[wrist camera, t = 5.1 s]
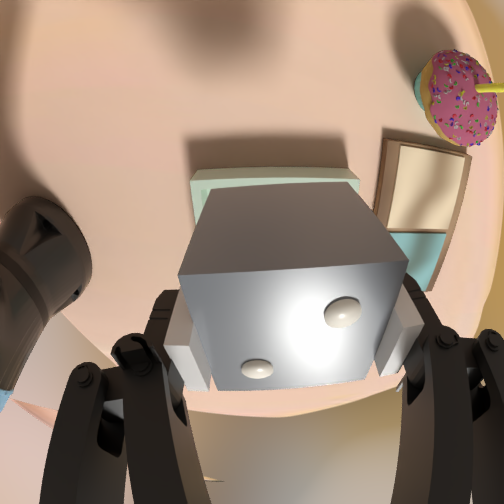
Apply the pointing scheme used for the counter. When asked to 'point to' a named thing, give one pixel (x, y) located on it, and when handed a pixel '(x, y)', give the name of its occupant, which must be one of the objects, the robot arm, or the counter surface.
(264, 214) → the die
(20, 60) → the counter surface
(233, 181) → the tray
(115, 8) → the counter surface
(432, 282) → the board
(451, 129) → the cupcake
